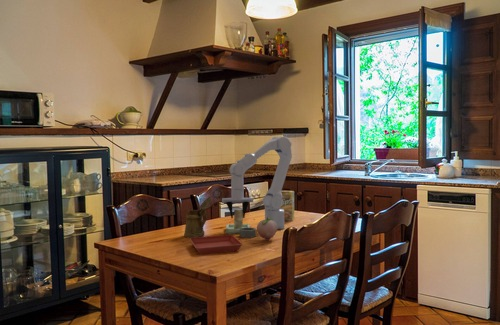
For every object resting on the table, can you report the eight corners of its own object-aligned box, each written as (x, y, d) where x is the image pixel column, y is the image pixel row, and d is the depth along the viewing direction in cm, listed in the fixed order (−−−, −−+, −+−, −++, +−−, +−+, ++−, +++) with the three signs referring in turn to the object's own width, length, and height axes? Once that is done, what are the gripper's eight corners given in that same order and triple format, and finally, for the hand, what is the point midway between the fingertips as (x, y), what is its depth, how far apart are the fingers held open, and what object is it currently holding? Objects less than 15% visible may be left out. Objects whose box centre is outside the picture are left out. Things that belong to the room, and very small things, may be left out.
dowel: (243, 228, 214) (244, 209, 214) (240, 230, 211) (240, 210, 210) (236, 227, 216) (236, 208, 215) (232, 229, 212) (233, 210, 212)
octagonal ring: (255, 233, 206) (255, 227, 206) (256, 237, 199) (256, 230, 199) (239, 234, 206) (239, 227, 206) (239, 237, 199) (239, 230, 199)
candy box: (276, 220, 240) (275, 191, 239) (278, 218, 244) (278, 190, 243) (292, 221, 237) (292, 191, 236) (294, 219, 241) (294, 190, 240)
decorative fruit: (260, 237, 199) (260, 214, 198) (278, 238, 196) (278, 215, 196) (254, 242, 190) (253, 218, 189) (273, 243, 187) (273, 219, 187)
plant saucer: (196, 256, 170) (196, 247, 170) (189, 245, 187) (189, 237, 187) (243, 252, 175) (243, 244, 175) (232, 242, 192) (231, 234, 192)
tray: (249, 228, 220) (249, 223, 219) (249, 233, 208) (249, 229, 207) (226, 228, 219) (226, 224, 219) (225, 233, 207) (225, 229, 207)
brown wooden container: (205, 239, 196) (204, 198, 195) (180, 236, 202) (179, 196, 201) (216, 235, 203) (215, 195, 202) (192, 233, 210) (191, 194, 209)
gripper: (252, 187, 216) (253, 216, 217) (222, 188, 216) (222, 216, 217) (253, 189, 209) (253, 218, 210) (221, 189, 209) (222, 219, 210)
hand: (237, 217), depth 213 cm, fingers open, 5 cm apart
